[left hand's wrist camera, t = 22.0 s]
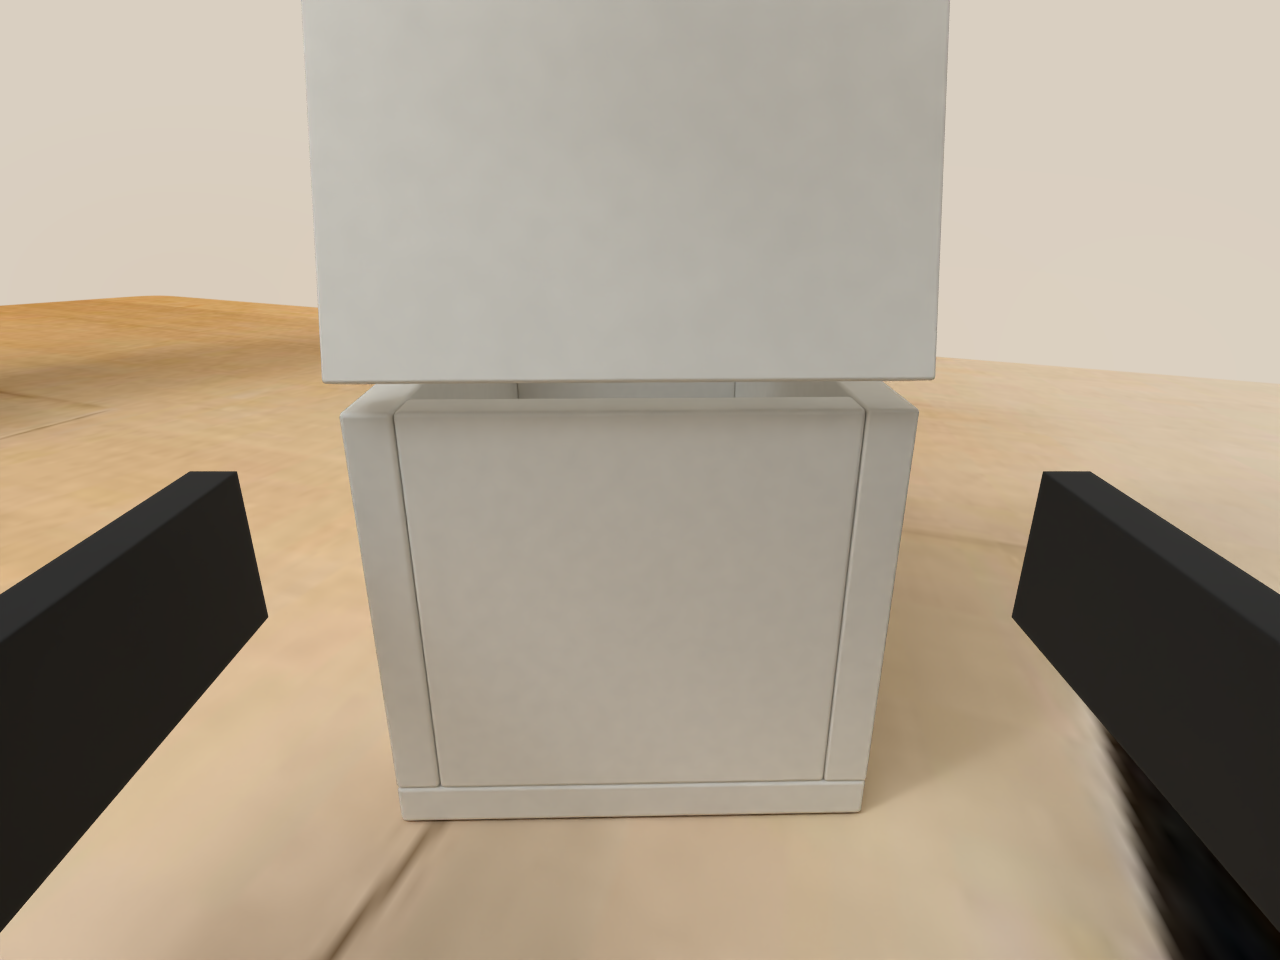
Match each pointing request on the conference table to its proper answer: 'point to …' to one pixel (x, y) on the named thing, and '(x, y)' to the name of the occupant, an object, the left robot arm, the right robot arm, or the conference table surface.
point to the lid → (626, 189)
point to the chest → (629, 591)
